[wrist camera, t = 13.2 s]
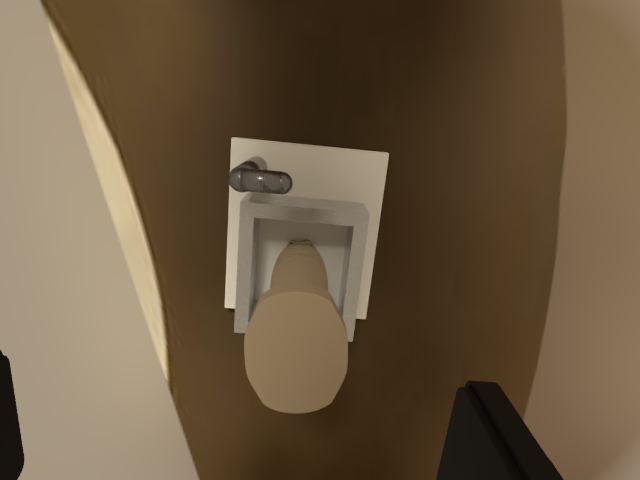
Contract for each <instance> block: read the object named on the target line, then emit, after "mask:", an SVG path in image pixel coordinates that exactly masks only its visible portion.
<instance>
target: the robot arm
mask: <svg viewBox="0 0 640 480" xmlns="http://www.w3.org/2000/svg"><path fill="white" fill-rule="evenodd" d="M23 465H24V453H23V447H22V440H21V434H20V428H19V421H18V414H17V408H16V401H15V395H14V388H13V381H12V375H11V368H10V362H9V359H8V358H7V356H4V355H3V354H2V352H1V350H0V480H17V479H18V477H19V476H20V473H21V471H22V469H23ZM436 480H563V478H562V477H561V475H560V474H559V473H558V471H557V470H556V468H555V466H554V465H553V463H552V462H551V461H550V460H549V458H548V457H547V456H546V454H545V453H544V451H543V450H542V449H541V448H540V446H539V444H538V443H537V441H536V439H535V438H534V437H533V435H532V434H531V432H530V431H529V429H528V428H527V426H526V425H525V423H524V422H523V420H522V419H521V417H520V416H519V414H518V413H517V411H516V410H515V408H514V407H513V405H512V404H511V402H510V401H509V399H508V398H507V396H506V395H505V393H504V392H503V390H502V389H501V387H500V386H499V385H498V384H497V383H495V382H483V381H468V382H467V383H466V385H465V387H459V388H458V390H457V393H456V397H455V401H454V405H453V410H452V414H451V418H450V422H449V427H448V431H447V435H446V440H445V444H444V448H443V452H442V457H441V461H440V465H439V470H438V474H437V478H436Z"/></svg>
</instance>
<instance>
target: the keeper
mask: <svg viewBox="0 0 640 480" xmlns="http://www.w3.org/2000/svg"><path fill="white" fill-rule="evenodd" d="M388 158H389V153H387V152H378V151H368V150H358V149H348V148H338V147H328V146H318V145H308V144H298V143H288V142H278V141H268V140H258V139H248V138H238V137H232V138H231V160H230V173H229V177H228V180H229V184H230V185H229V211H228V236H227V262H226V287H225V308H234V309H235V322H234V332H235V333H246V329H247V327H248V324H249V321H250V318H251V316H252V314H253V311H254V309H255V307H256V305H257V303H258V301H259V299H260V297H261V295H262V294H263V293H264V292H266V291H267V290H269V289H270V284H271V276H272V272H273V268H274V265H275V263H276V260H277V258H278V256H279V255H280V253H281V252H282V251H283V250H284V249H285V248H286V247H287V244H288V242H289V241H291V240H296V241H304V240H306V239H307V240H310V241H311V242H312V244H313V247H314V248H316V250H317V251H318V252H319V253H320V255H321V257H322V259H323V261H324V265H325V268H326V273H327V278H328V292H329V293H330V295H331V296H332V298H333V300H334V302H335V304H336V306H337V308H338V310H339V312H340V314H341V316H342V318H343V320H344V323H345V325H346V331H347V337H348V341H349V342H353V336H354V328H355V321H356V319H366V314H367V307H368V300H369V293H370V286H371V279H372V271H373V264H374V257H375V250H376V243H377V236H378V229H379V222H380V215H381V208H382V201H383V194H384V187H385V180H386V173H387V166H388Z"/></svg>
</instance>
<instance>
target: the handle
mask: <svg viewBox="0 0 640 480" xmlns="http://www.w3.org/2000/svg"><path fill="white" fill-rule="evenodd" d="M244 353H245V367H246V373H247V376H248V379H249V381H250V383H251V385H252V387H253V388H254V390H255V392H256V393H257V395H258V396H259V398H260V399H261V401H262V403H263V404H264V405H265V406H267V407H269V408H271V409H273V410H276V411H279V412H284V413H308V412H312V411H317V410H319V409H322V408H324V407H326V406H327V405H329V404H331V403H332V401H333V399H334V397H335V396H336V394H337V392H338V390H339V388H340V387H341V385H342V383H343V381H344V378H345V376H346V373H347V366H348V337H347V331H346V325H345V323H344V320H343V318H342V316H341V314H340V312H339V310H338V308H337V306H336V304H335V302H334V300H333V298H332V296H331V295H330V293H329V292H328V278H327V273H326V268H325V265H324V261H323V259H322V257H321V255H320V253H319V252H318V251H317V250H316V248H314V247H313V244H312V242H311V241H310V240H307V239H306V240H304V241H296V240H291V241H289V242H288V244H287V247H286V248H285V249H284V250H283V251H282V252H281V253H280V255H279V256H278V258H277V260H276V263H275V265H274V268H273V272H272V276H271V284H270V289H269V290H267V291H266V292H264V293H263V294H262V295H261V297H260V299H259V301H258V303H257V305H256V307H255V309H254V311H253V314H252V316H251V318H250V321H249V324H248V327H247V329H246V333H245V339H244Z"/></svg>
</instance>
